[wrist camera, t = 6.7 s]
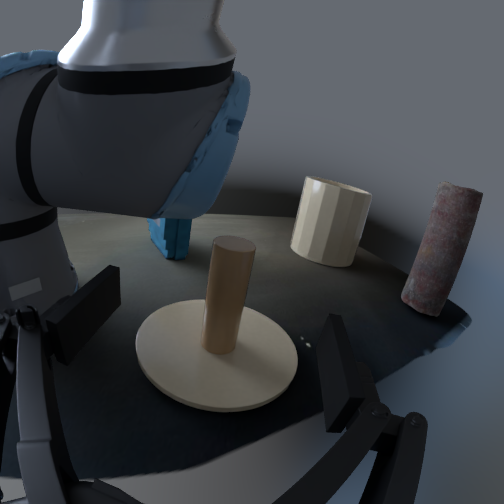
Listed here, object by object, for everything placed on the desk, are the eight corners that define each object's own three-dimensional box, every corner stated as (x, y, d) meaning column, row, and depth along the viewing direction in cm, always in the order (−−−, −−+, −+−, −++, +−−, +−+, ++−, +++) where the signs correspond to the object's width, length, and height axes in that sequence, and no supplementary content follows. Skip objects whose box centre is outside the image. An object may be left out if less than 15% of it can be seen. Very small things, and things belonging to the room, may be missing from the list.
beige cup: (291, 258, 48) (310, 180, 43) (289, 236, 60) (303, 173, 55) (359, 272, 48) (382, 199, 43) (344, 248, 60) (361, 188, 55)
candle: (429, 327, 33) (480, 189, 26) (390, 303, 38) (433, 172, 31) (442, 313, 38) (485, 195, 31) (408, 293, 43) (445, 180, 36)
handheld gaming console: (190, 260, 40) (205, 153, 35) (163, 262, 38) (175, 150, 32) (167, 235, 47) (178, 147, 42) (144, 237, 45) (154, 145, 39)
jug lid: (108, 385, 17) (91, 258, 13) (167, 297, 30) (174, 205, 26) (296, 430, 17) (352, 316, 13) (292, 324, 30) (318, 234, 26)
